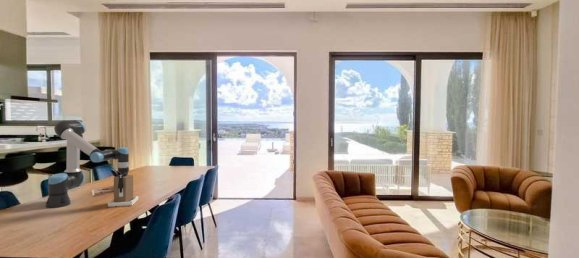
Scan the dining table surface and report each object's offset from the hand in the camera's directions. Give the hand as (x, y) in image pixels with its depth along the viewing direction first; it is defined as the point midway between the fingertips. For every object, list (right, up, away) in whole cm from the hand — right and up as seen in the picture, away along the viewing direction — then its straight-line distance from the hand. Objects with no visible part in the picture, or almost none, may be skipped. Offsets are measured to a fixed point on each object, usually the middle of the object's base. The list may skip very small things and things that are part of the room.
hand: (123, 194), depth 242 cm
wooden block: (0, -5, 0) cm, 5 cm away
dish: (0, -7, 0) cm, 7 cm away
